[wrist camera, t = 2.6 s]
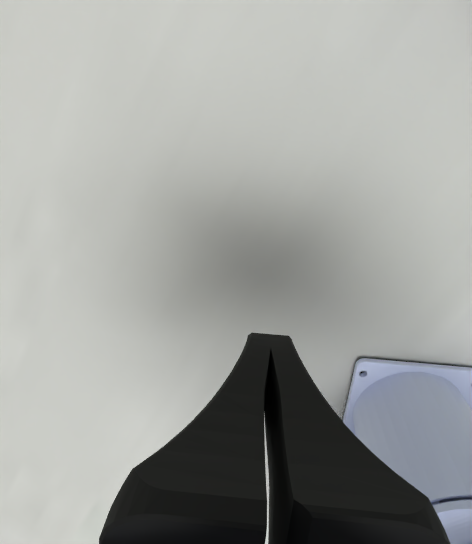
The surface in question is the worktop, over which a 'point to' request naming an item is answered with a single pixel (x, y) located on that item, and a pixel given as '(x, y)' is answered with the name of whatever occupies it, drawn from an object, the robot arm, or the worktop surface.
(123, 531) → the robot arm
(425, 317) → the worktop surface
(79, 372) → the worktop surface
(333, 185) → the worktop surface
